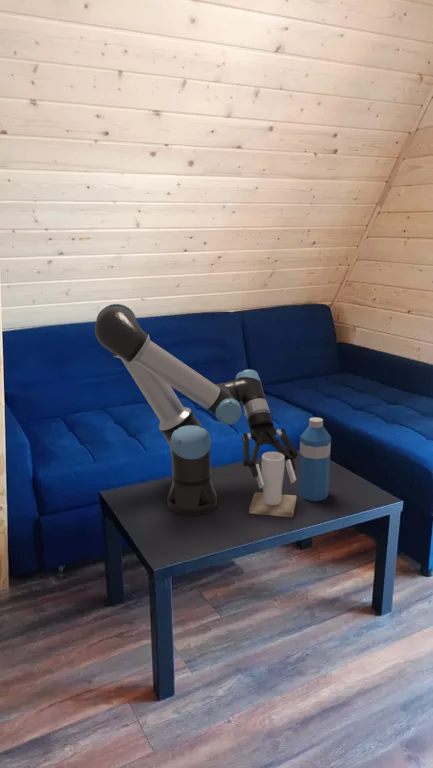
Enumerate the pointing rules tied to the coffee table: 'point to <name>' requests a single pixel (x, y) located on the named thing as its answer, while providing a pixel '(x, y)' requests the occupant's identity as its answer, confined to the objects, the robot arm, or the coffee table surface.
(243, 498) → the coffee table surface
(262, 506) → the birch board
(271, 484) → the drinking glass
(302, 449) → the water bottle
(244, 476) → the coffee table surface
